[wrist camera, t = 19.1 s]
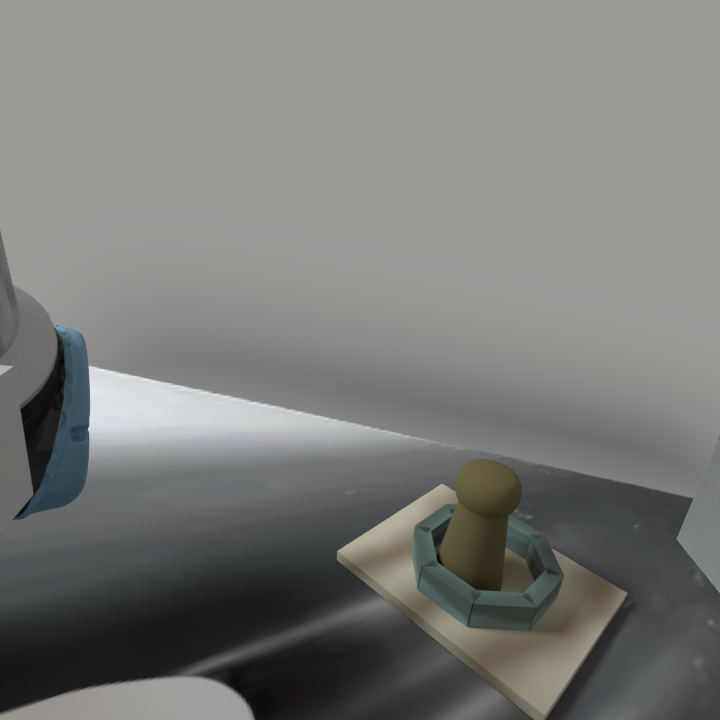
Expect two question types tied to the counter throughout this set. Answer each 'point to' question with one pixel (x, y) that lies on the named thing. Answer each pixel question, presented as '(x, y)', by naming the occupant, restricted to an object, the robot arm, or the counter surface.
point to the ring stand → (490, 601)
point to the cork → (480, 524)
